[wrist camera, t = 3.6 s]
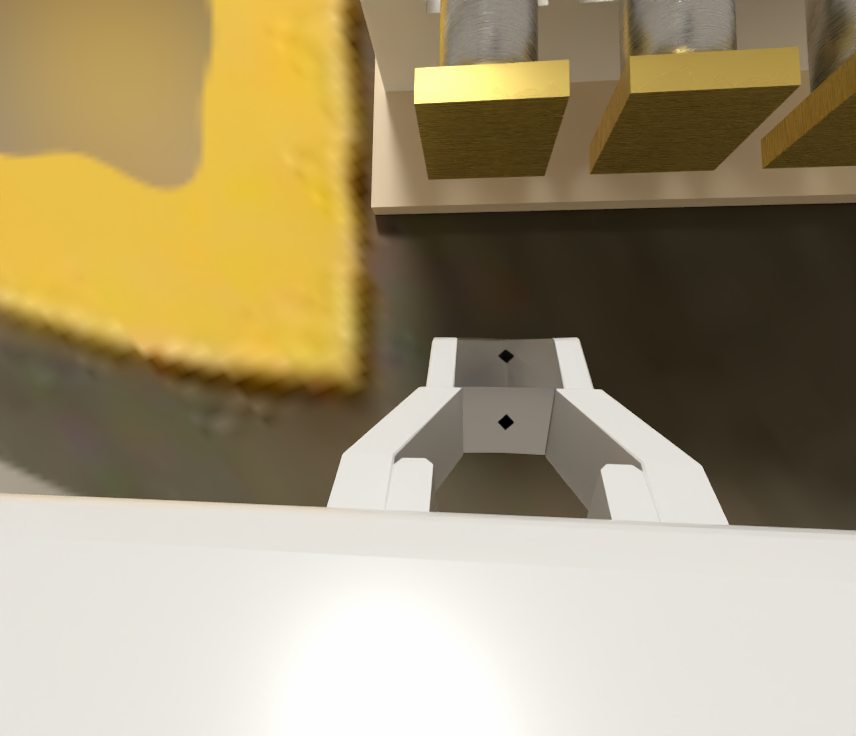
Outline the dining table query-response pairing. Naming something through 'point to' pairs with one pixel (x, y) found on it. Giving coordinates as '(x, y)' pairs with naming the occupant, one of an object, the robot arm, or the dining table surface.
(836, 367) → the dining table surface
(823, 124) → the right rod
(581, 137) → the panel
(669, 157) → the middle rod
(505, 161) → the left rod
